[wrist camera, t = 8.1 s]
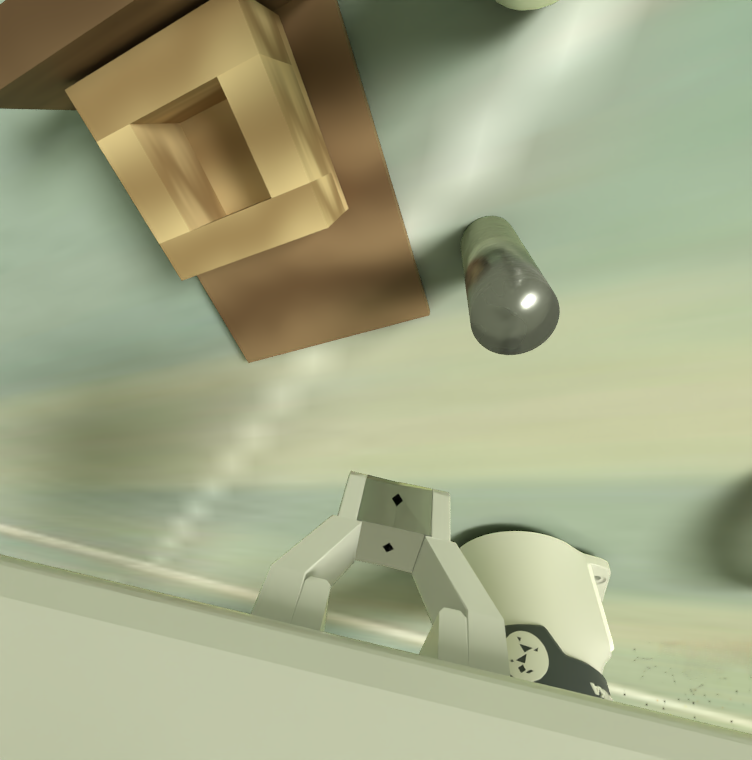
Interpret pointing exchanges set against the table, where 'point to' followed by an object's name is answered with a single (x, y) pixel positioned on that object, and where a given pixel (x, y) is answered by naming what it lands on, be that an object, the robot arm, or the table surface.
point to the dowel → (505, 289)
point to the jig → (341, 136)
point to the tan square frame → (214, 136)
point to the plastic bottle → (526, 4)
